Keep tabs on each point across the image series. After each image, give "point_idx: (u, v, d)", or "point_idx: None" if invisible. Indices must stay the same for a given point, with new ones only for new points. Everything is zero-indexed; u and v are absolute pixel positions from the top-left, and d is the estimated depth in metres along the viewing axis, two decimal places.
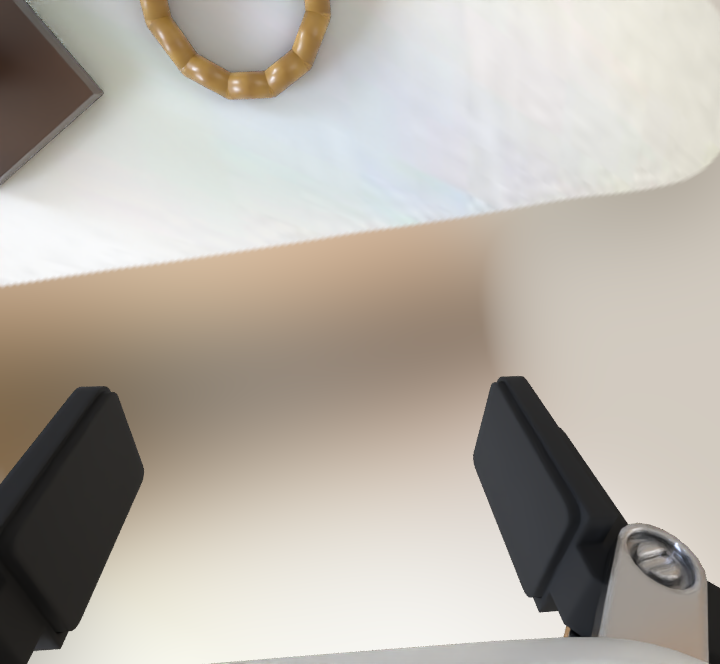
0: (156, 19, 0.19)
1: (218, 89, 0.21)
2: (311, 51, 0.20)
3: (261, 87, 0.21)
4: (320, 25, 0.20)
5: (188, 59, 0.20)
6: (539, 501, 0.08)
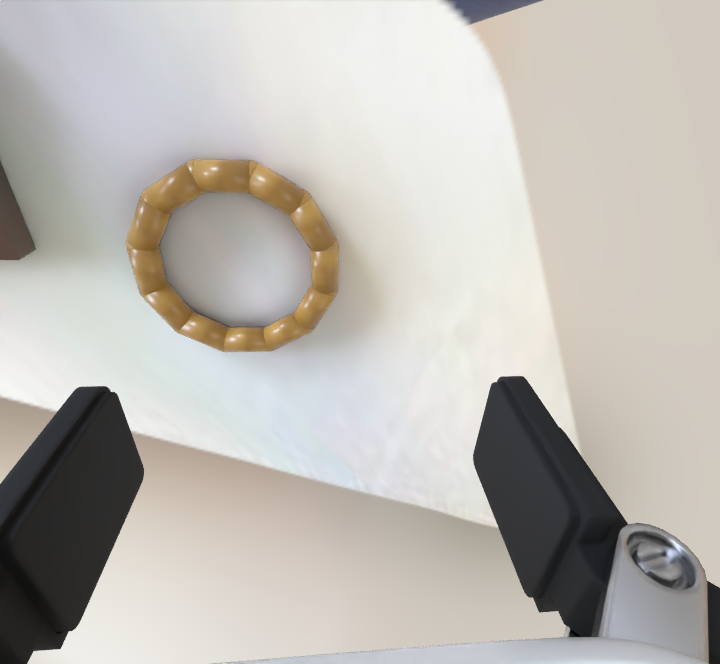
0: (138, 249, 0.17)
1: (169, 324, 0.19)
2: (280, 344, 0.20)
3: (215, 344, 0.19)
4: (300, 334, 0.19)
5: (153, 291, 0.18)
6: (539, 501, 0.08)
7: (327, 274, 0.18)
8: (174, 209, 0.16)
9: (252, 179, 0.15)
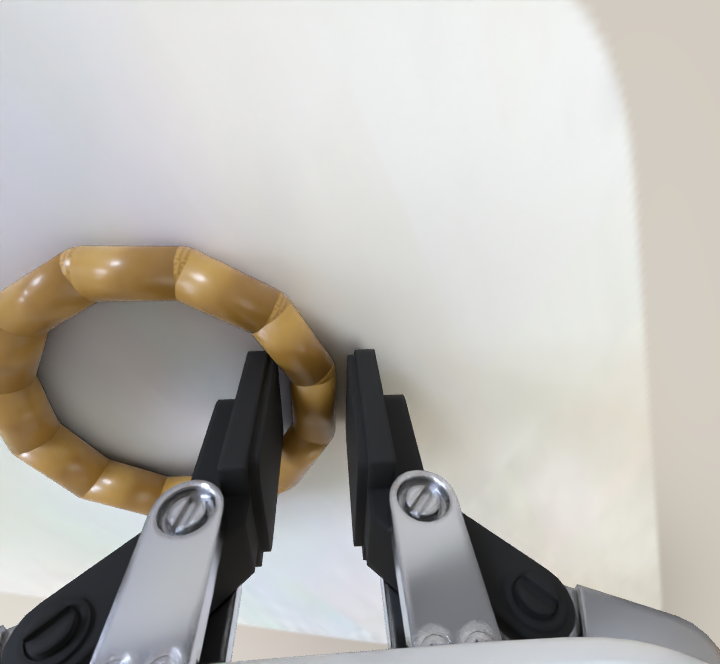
0: None
1: None
2: None
3: (143, 512, 0.12)
4: None
5: (29, 448, 0.11)
6: (354, 456, 0.09)
7: (318, 416, 0.11)
8: (47, 329, 0.09)
9: (179, 283, 0.09)
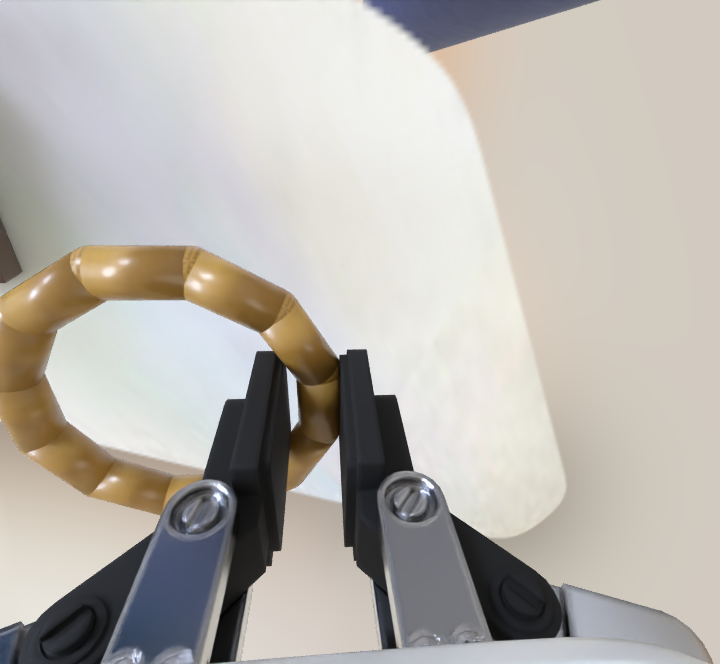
0: (1, 392, 0.10)
1: None
2: None
3: (148, 510, 0.12)
4: None
5: (37, 445, 0.11)
6: (344, 457, 0.09)
7: (324, 415, 0.11)
8: (57, 328, 0.09)
9: (188, 282, 0.09)
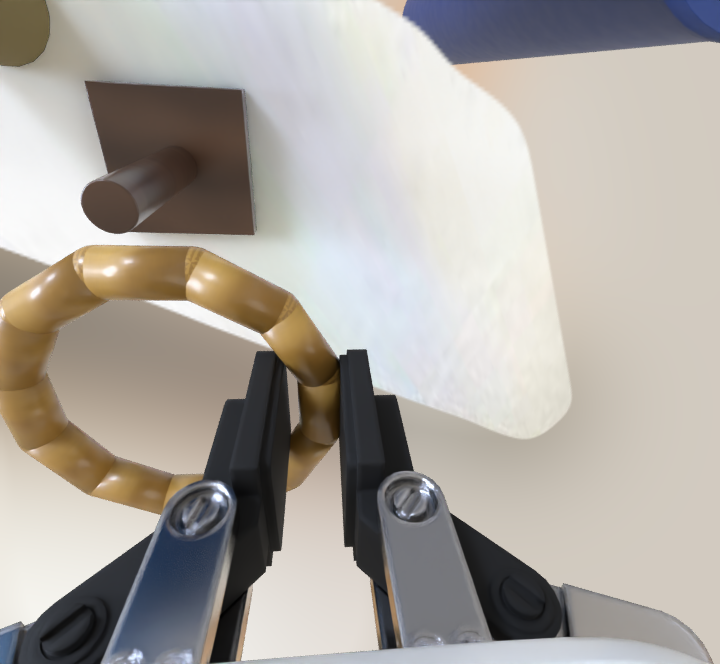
0: (3, 390, 0.10)
1: None
2: None
3: (149, 509, 0.12)
4: None
5: (38, 444, 0.11)
6: (344, 457, 0.09)
7: (324, 416, 0.11)
8: (59, 327, 0.09)
9: (190, 283, 0.09)
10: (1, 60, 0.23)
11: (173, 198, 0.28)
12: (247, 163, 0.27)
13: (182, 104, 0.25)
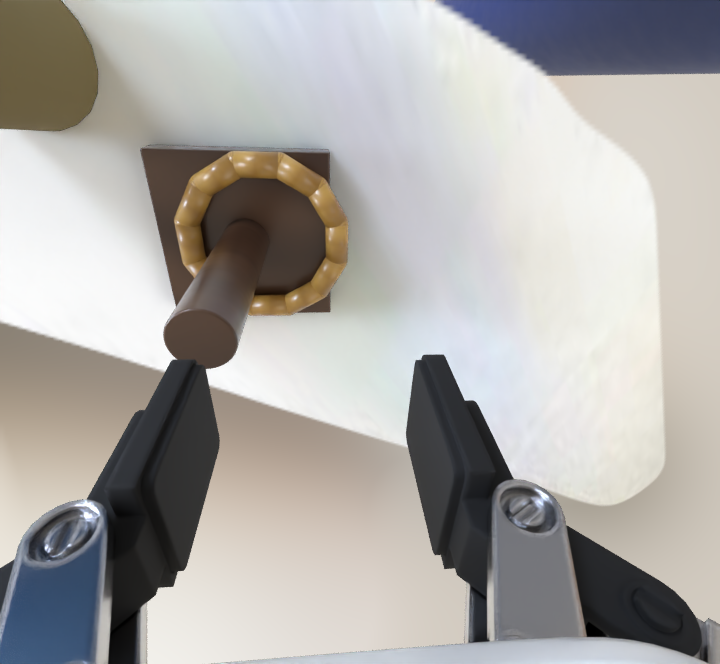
0: (185, 225, 0.20)
1: None
2: (298, 309, 0.23)
3: None
4: (315, 299, 0.23)
5: (194, 261, 0.21)
6: (439, 464, 0.09)
7: (339, 247, 0.22)
8: (215, 192, 0.20)
9: (280, 166, 0.19)
10: (40, 128, 0.18)
11: None
12: None
13: None
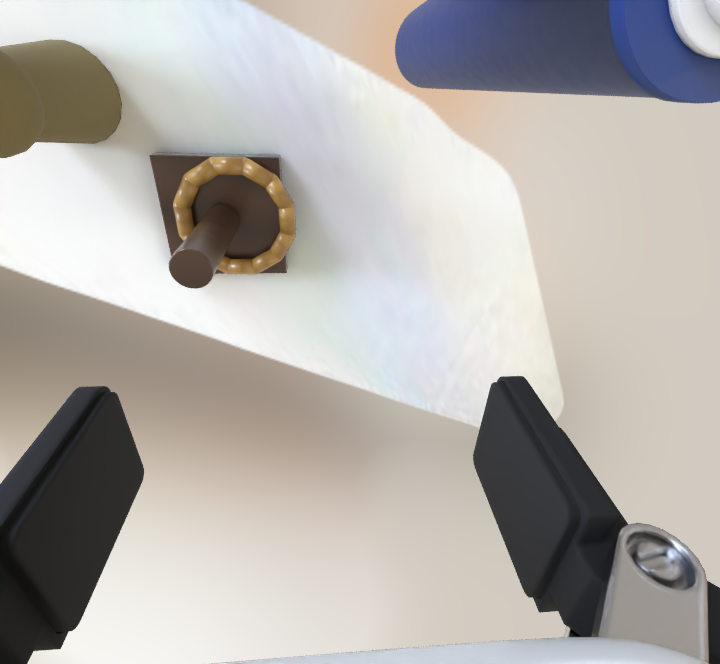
0: (180, 207, 0.30)
1: None
2: (262, 268, 0.33)
3: (222, 268, 0.32)
4: (274, 261, 0.32)
5: (187, 233, 0.31)
6: (539, 501, 0.08)
7: (288, 222, 0.31)
8: (201, 184, 0.29)
9: (244, 167, 0.29)
10: (83, 142, 0.28)
11: None
12: None
13: None
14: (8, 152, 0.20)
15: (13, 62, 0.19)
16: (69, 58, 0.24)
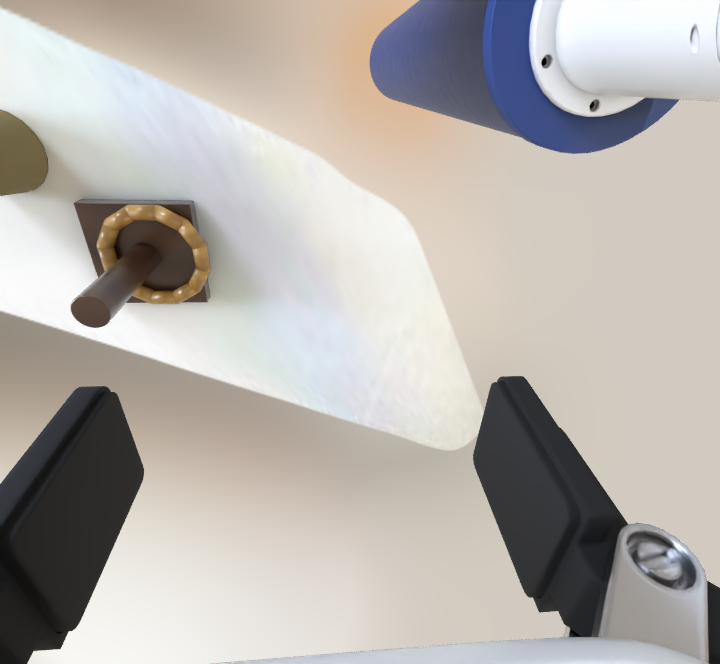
0: (103, 248, 0.34)
1: None
2: (182, 299, 0.37)
3: (146, 299, 0.36)
4: (192, 293, 0.36)
5: None
6: (539, 501, 0.08)
7: (201, 260, 0.35)
8: (120, 228, 0.33)
9: (156, 214, 0.32)
10: (13, 193, 0.32)
11: None
12: None
13: None
14: None
15: None
16: None
